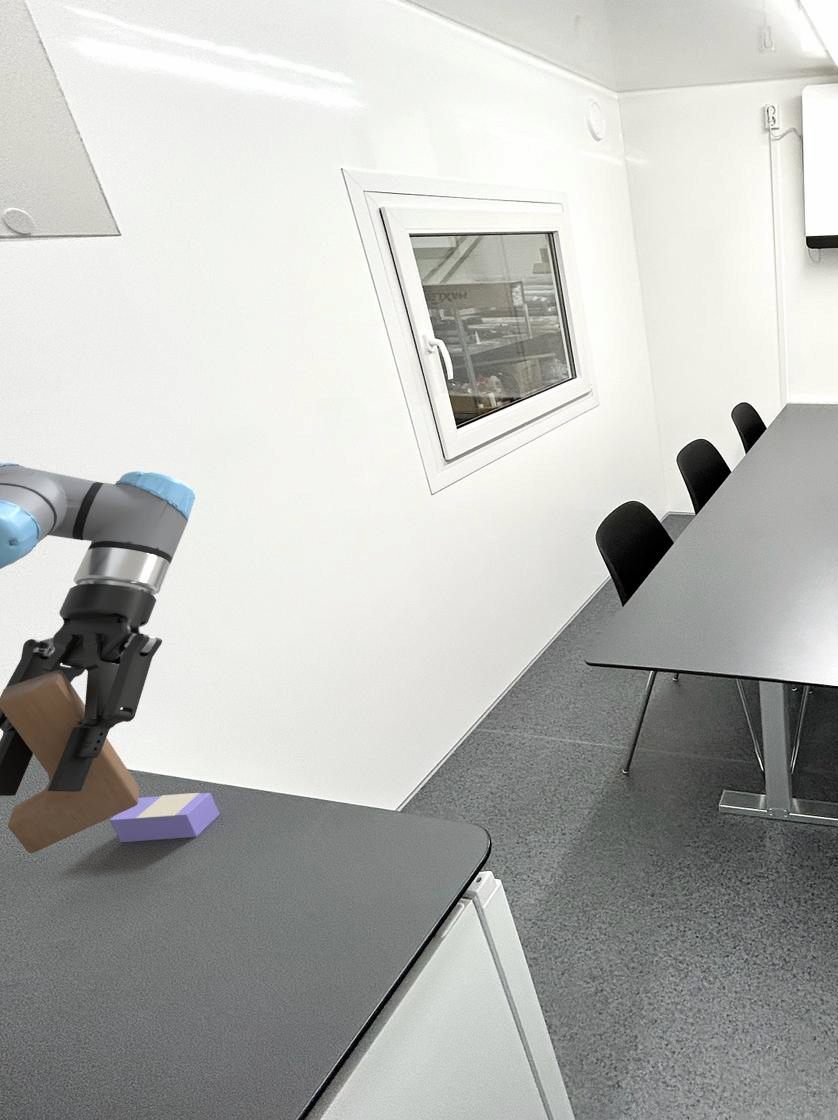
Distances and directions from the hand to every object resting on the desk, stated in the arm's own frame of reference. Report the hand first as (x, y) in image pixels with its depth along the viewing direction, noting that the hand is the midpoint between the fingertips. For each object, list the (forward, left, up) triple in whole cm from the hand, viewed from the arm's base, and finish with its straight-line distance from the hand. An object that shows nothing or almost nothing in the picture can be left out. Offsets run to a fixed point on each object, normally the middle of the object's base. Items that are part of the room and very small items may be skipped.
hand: (31, 792), depth 67 cm
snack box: (-5, +14, -20) cm, 25 cm away
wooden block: (-1, +4, -8) cm, 9 cm away
